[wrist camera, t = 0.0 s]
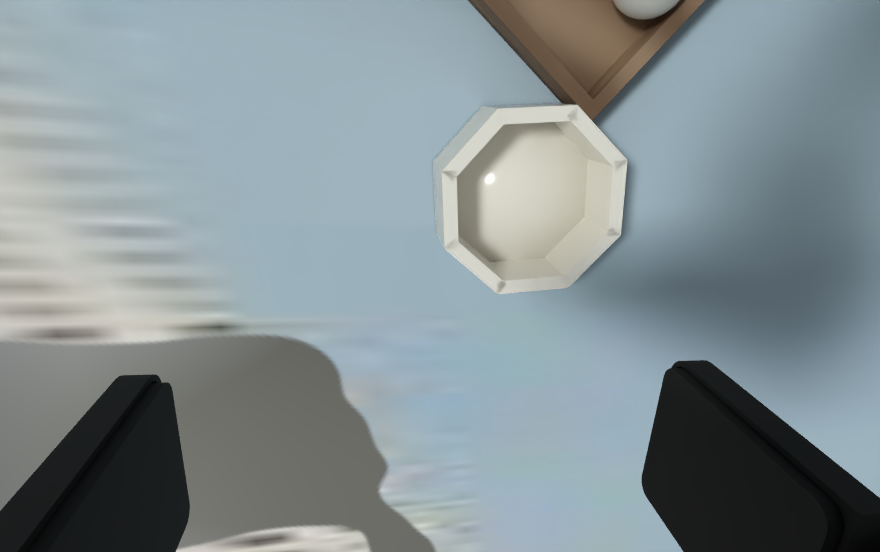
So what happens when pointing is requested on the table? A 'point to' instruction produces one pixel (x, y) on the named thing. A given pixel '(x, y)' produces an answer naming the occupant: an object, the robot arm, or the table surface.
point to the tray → (582, 43)
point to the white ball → (644, 8)
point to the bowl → (529, 195)
